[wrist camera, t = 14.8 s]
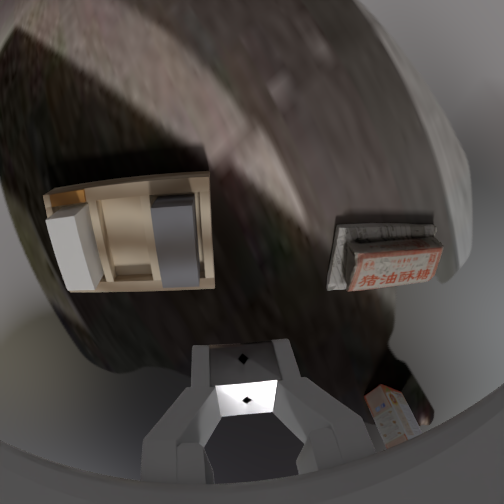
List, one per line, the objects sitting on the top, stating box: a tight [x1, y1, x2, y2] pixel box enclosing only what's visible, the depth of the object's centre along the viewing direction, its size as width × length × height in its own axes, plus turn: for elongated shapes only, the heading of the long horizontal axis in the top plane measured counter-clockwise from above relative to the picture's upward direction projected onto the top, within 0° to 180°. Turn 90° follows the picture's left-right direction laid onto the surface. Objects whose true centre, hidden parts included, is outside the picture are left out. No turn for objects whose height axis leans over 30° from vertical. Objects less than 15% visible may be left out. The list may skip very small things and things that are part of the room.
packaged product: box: [326, 223, 444, 291], centre depth 36 cm, size 18×5×10 cm
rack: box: [43, 171, 215, 292], centre depth 29 cm, size 13×20×6 cm
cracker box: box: [364, 384, 422, 449], centre depth 50 cm, size 14×6×21 cm, turn 49°
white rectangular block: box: [46, 203, 104, 291], centre depth 27 cm, size 9×4×4 cm, turn 0°
